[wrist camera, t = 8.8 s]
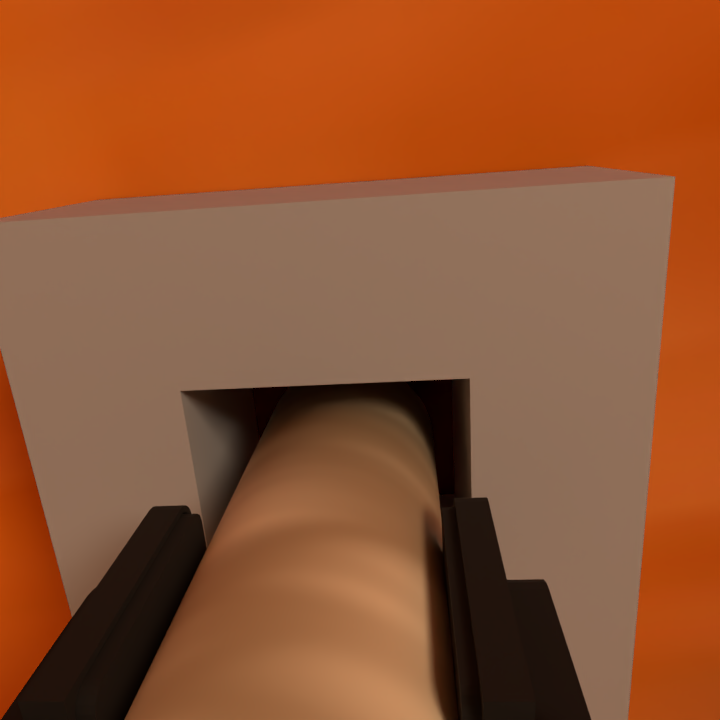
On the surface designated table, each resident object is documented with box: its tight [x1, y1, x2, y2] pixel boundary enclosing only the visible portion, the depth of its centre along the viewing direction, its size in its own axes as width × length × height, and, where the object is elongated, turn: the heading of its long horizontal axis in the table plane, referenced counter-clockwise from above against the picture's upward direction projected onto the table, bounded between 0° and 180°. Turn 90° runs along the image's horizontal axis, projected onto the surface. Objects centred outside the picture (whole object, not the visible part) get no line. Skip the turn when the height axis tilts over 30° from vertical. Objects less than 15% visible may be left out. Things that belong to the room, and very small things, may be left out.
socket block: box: [0, 166, 675, 720], centre depth 15 cm, size 12×12×5 cm
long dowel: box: [124, 381, 458, 720], centre depth 9 cm, size 4×4×14 cm
